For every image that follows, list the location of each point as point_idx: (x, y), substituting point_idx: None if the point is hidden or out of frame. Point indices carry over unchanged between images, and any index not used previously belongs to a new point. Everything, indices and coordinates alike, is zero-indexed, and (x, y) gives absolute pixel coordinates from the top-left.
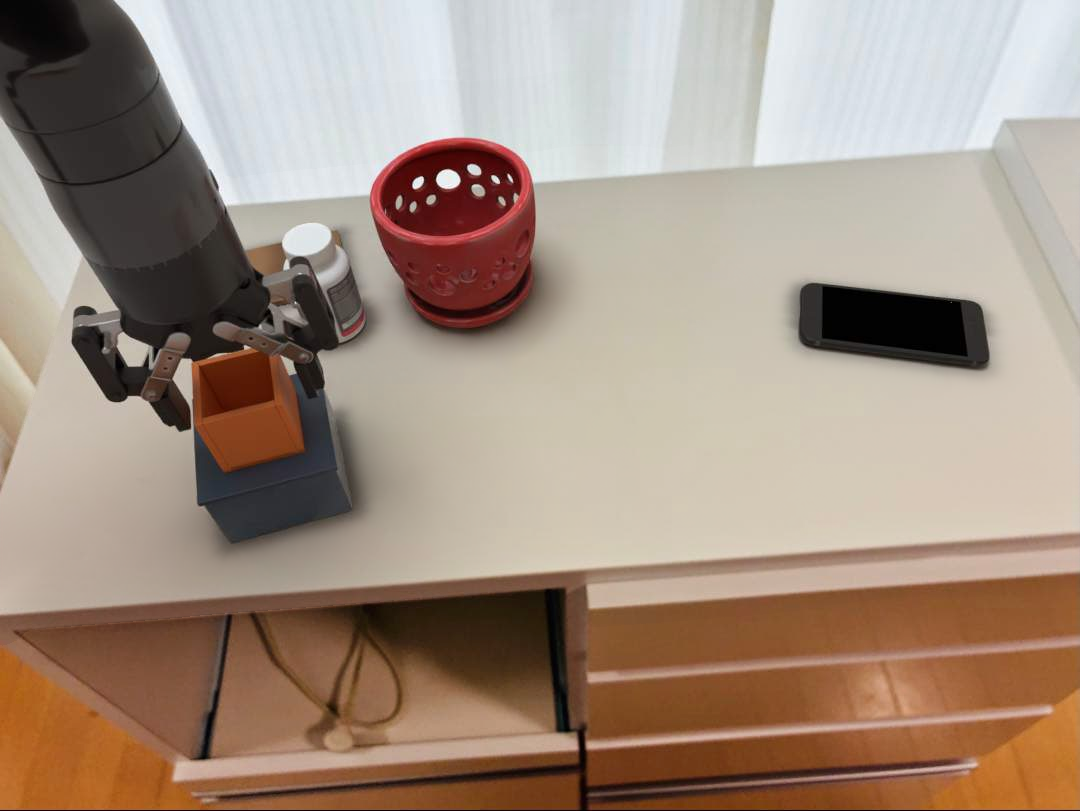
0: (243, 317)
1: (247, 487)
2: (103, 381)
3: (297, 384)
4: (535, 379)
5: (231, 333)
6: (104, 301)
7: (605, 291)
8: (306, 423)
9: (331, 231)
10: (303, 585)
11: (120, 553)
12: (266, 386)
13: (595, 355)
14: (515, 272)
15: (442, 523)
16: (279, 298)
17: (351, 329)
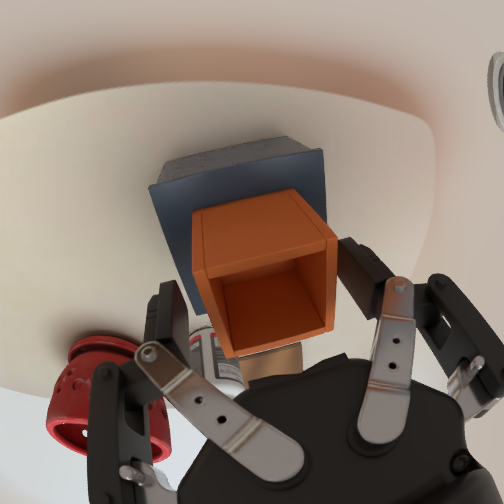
0: (234, 466)
1: (263, 164)
2: (464, 304)
3: None
4: (43, 289)
5: (259, 446)
6: (367, 344)
7: (33, 346)
8: None
9: None
10: (209, 82)
11: (375, 146)
12: (245, 298)
13: (17, 304)
14: (59, 376)
15: (79, 149)
16: (256, 358)
17: (193, 340)
